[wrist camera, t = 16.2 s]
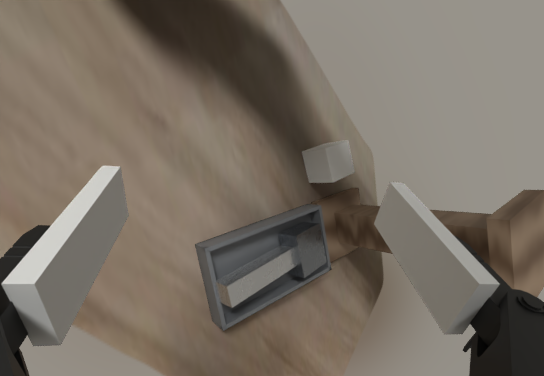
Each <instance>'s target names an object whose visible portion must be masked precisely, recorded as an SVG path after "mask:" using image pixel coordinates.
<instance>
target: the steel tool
mask: <svg viewBox="0 0 544 376" xmlns="http://www.w3.org/2000/svg"><path fill="white" fill-rule="evenodd" d="M278 236H279V241H280V246H278V247H276V248H274V249H273V250H271V251H269V252H267V253H265V254H264V255H262V256H260V257H258V258H256V259H255V260H253V261H251V262H249V263H247V264H245V265H244V266H242V267H240V268H238V269H236V270H235V271H233V272H231V273H229V274H227V275H225V276H224V277H222V278H220V279H218V280H216V281H215V286H216V290H217V294H218V298H219V302H221V303H223V304H225V305H227V306H229V307H231V308H233V307H234V306H236V305H237V304H239V303H240V302H242V301H243V300H245V299H247V298H248V297H250V296H251V295H253V294H254V293H256V292H257V291H259V290H260V289H262V288H263V287H265V286H266V285H268V284H269V283H271V282H273V281H274V280H276V279H277V278H279V277H280V276H282V275H283V274H285V273H287V274H291V275H295V276H298V277H302V278H305V277H307V276H308V275H310V274H311V273H312V272H314V271H315V270H316V269H318V268H319V267H321V266H322V265H323V264H325V263H326V262H327V261H326V256H325V250H324V245H323V239H322V234H321V228H320V223H310V222H300V223H298V224H296V225H294V226H292V227H290V228H288V229H286V230H284V231H282V232H280V233H279V234H278Z"/></svg>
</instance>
